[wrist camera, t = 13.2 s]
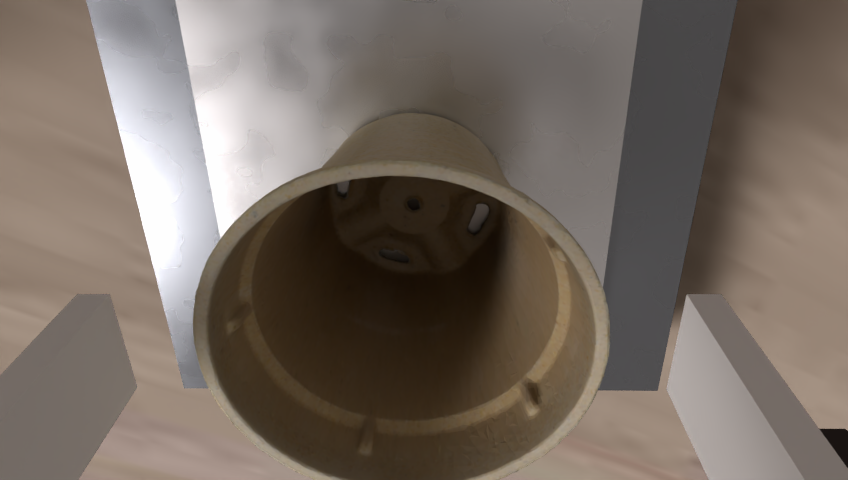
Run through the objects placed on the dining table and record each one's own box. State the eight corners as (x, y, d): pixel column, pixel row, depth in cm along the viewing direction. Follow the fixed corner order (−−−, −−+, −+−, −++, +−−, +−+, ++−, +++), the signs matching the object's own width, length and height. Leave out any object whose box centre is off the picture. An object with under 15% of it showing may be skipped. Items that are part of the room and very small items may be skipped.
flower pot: (553, 302, 24) (606, 490, 16) (309, 321, 24) (247, 509, 17) (549, 47, 19) (619, 138, 12) (251, 79, 20) (133, 184, 12)
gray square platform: (214, 332, 30) (179, 396, 26) (125, -89, 22) (54, -88, 18) (631, 333, 30) (661, 398, 26) (705, -99, 21) (765, -101, 17)
